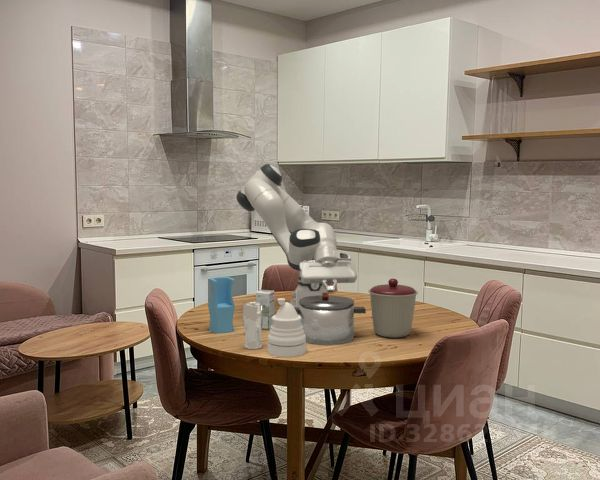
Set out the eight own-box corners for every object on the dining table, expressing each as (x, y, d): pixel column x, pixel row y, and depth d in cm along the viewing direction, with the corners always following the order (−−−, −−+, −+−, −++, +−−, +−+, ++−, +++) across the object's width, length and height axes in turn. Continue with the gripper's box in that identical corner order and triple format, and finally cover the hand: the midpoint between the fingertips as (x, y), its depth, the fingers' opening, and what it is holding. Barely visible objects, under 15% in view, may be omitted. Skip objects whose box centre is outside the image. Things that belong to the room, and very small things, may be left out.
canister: (365, 328, 229) (366, 274, 227) (412, 328, 228) (413, 274, 226) (369, 340, 211) (370, 282, 209) (420, 341, 211) (422, 283, 208)
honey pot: (275, 359, 189) (275, 303, 188) (262, 348, 201) (261, 296, 199) (312, 354, 194) (312, 300, 193) (296, 344, 206) (296, 293, 204)
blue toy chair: (215, 333, 220) (214, 280, 218) (208, 329, 227) (207, 277, 225) (235, 331, 224) (234, 279, 222) (227, 326, 231) (227, 276, 229)
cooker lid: (297, 298, 224) (297, 290, 223) (349, 297, 225) (349, 289, 225) (301, 309, 204) (301, 301, 203) (358, 309, 205) (358, 300, 205)
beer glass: (243, 344, 206) (242, 301, 205) (263, 343, 207) (263, 301, 205) (243, 349, 199) (242, 306, 198) (263, 349, 200) (263, 305, 198)
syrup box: (275, 326, 231) (275, 290, 230) (269, 330, 226) (269, 292, 224) (261, 325, 233) (261, 289, 232) (255, 328, 228) (255, 291, 226)
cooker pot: (286, 329, 226) (286, 298, 225) (358, 328, 228) (359, 298, 227) (289, 345, 205) (289, 311, 204) (369, 344, 207) (369, 310, 206)
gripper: (299, 255, 214) (301, 287, 206) (355, 254, 216) (359, 286, 207) (298, 266, 219) (300, 297, 210) (352, 265, 221) (357, 296, 212)
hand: (330, 291), depth 209 cm, fingers closed
